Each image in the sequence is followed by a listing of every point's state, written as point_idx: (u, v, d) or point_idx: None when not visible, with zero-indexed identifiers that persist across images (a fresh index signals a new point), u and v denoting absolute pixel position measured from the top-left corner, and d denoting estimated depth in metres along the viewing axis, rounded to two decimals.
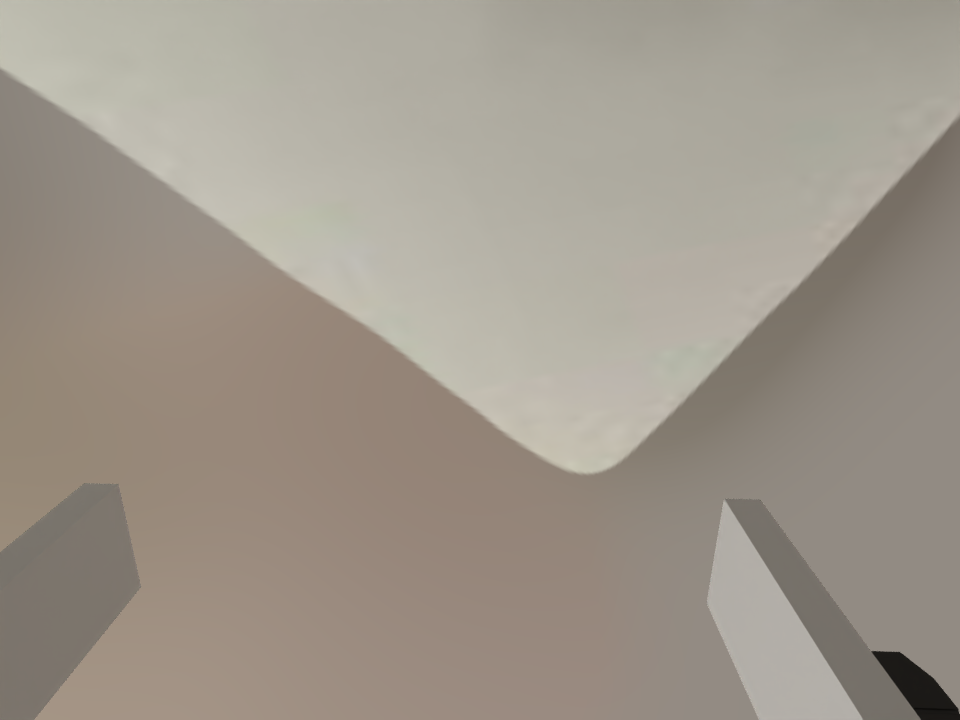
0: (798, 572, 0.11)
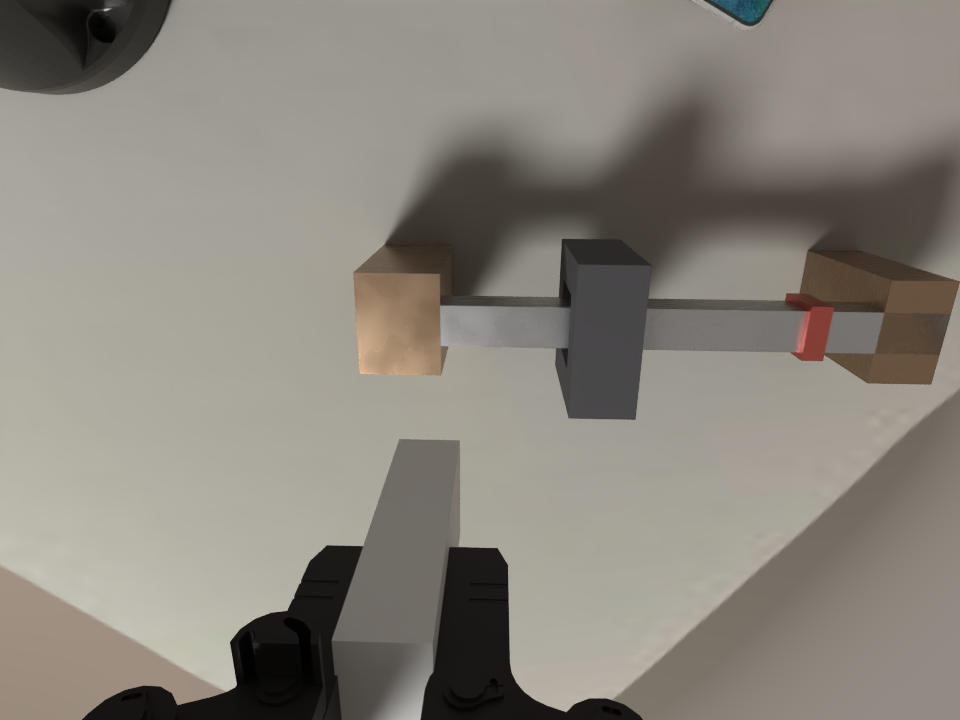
0: (441, 490, 0.13)
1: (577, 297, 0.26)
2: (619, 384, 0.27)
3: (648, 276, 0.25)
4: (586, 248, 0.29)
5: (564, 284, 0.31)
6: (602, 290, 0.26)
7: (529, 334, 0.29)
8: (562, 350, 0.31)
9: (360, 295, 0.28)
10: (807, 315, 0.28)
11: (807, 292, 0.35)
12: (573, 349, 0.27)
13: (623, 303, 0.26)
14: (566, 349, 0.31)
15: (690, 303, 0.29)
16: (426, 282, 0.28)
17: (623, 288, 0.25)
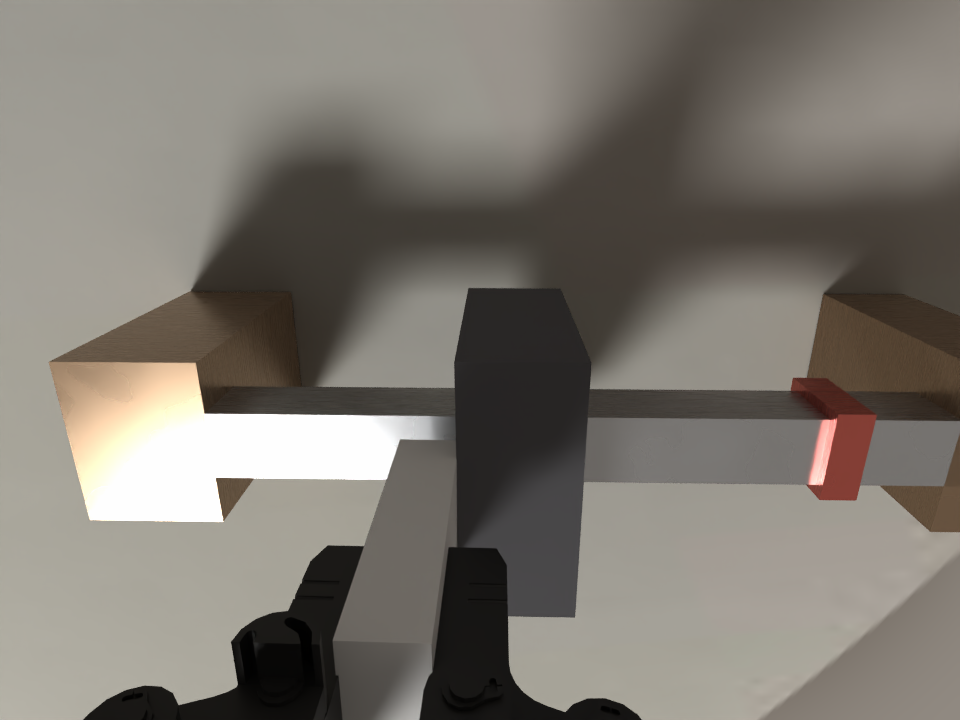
0: (441, 490, 0.13)
1: (457, 419, 0.14)
2: (543, 562, 0.15)
3: (586, 382, 0.14)
4: (494, 312, 0.17)
5: None
6: (502, 407, 0.14)
7: (359, 458, 0.17)
8: None
9: (68, 398, 0.17)
10: (830, 427, 0.16)
11: (823, 357, 0.23)
12: (458, 505, 0.15)
13: (542, 428, 0.14)
14: None
15: (632, 400, 0.18)
16: (175, 377, 0.16)
17: (541, 404, 0.14)
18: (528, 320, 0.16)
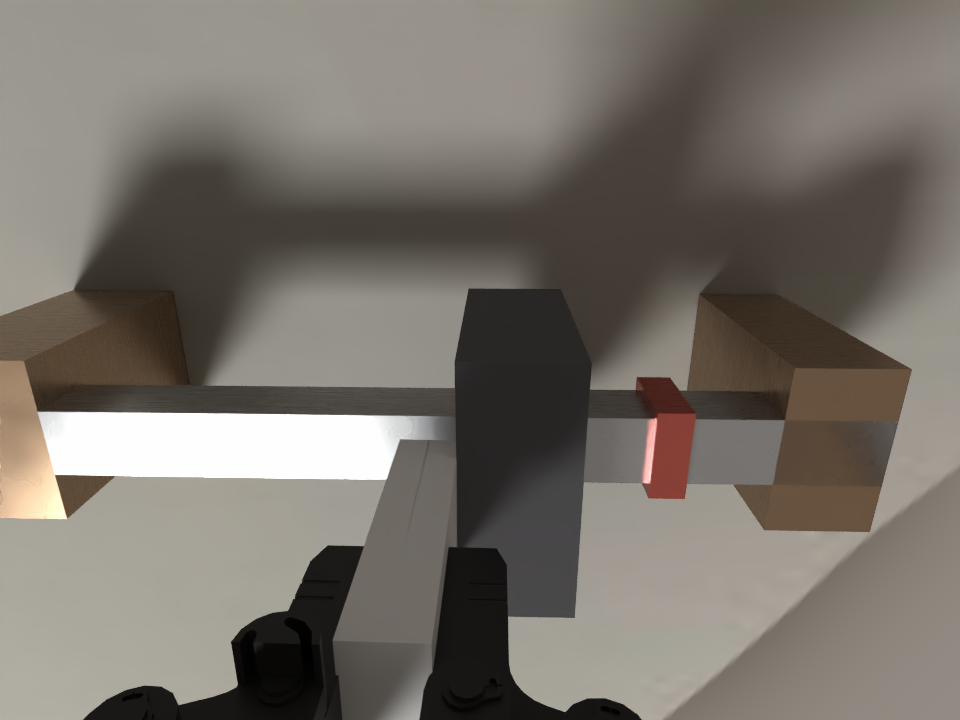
0: (441, 490, 0.13)
1: (457, 419, 0.14)
2: (543, 562, 0.15)
3: (586, 382, 0.14)
4: (494, 312, 0.17)
5: None
6: (502, 407, 0.14)
7: (195, 455, 0.17)
8: None
9: None
10: (653, 426, 0.16)
11: (699, 357, 0.23)
12: (458, 505, 0.15)
13: (542, 429, 0.14)
14: None
15: None
16: (5, 375, 0.17)
17: (541, 404, 0.14)
18: (528, 320, 0.16)
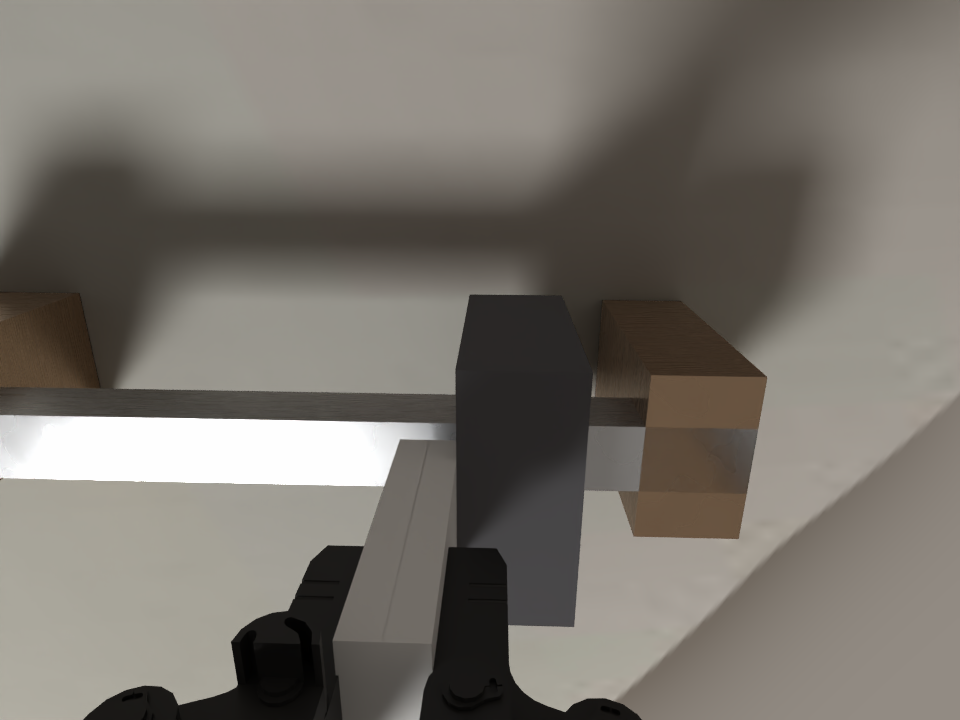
0: (441, 490, 0.13)
1: (458, 427, 0.14)
2: (543, 571, 0.15)
3: (587, 391, 0.13)
4: (496, 319, 0.17)
5: None
6: (503, 415, 0.14)
7: (63, 458, 0.17)
8: None
9: None
10: None
11: (601, 362, 0.23)
12: (457, 513, 0.15)
13: (543, 437, 0.14)
14: None
15: (342, 404, 0.18)
16: None
17: (542, 413, 0.14)
18: (529, 328, 0.16)
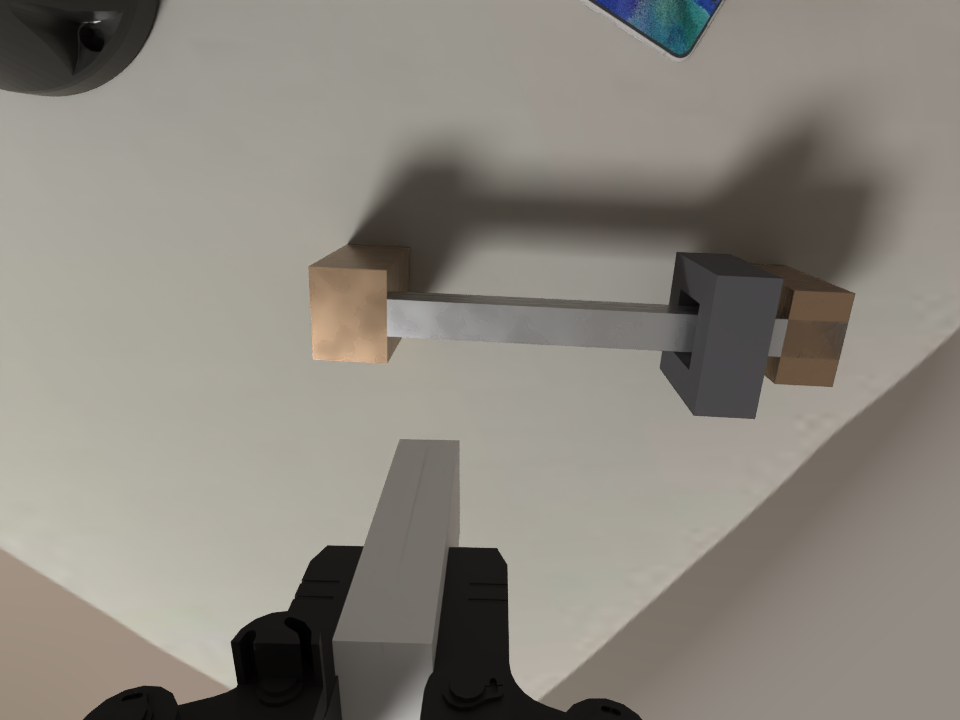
0: (441, 490, 0.13)
1: (713, 305, 0.28)
2: (743, 385, 0.30)
3: (779, 288, 0.28)
4: (708, 261, 0.32)
5: (680, 293, 0.33)
6: (736, 299, 0.28)
7: (467, 328, 0.32)
8: (676, 354, 0.34)
9: (314, 287, 0.31)
10: None
11: None
12: (704, 352, 0.29)
13: (754, 311, 0.28)
14: (679, 353, 0.34)
15: (616, 305, 0.32)
16: (374, 278, 0.31)
17: (756, 298, 0.28)
18: (731, 264, 0.31)
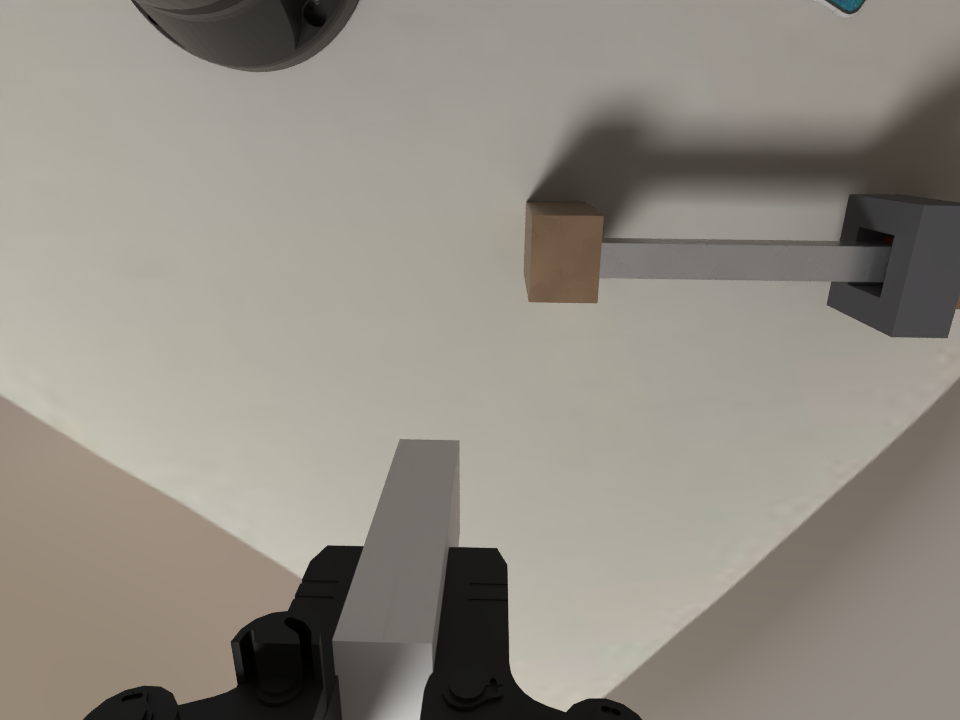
0: (441, 490, 0.13)
1: (917, 233, 0.31)
2: (939, 307, 0.33)
3: None
4: (892, 198, 0.35)
5: (859, 231, 0.36)
6: (939, 227, 0.31)
7: (674, 267, 0.35)
8: (855, 287, 0.37)
9: (536, 234, 0.34)
10: None
11: None
12: (905, 277, 0.32)
13: (955, 237, 0.31)
14: (857, 287, 0.37)
15: (806, 242, 0.35)
16: (591, 223, 0.34)
17: (957, 225, 0.31)
18: (918, 199, 0.34)
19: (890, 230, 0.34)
